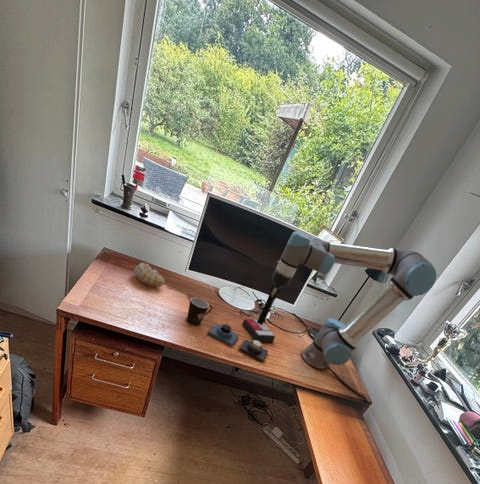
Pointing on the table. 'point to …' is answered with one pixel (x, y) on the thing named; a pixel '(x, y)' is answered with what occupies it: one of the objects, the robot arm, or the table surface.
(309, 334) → the table surface
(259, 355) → the black key block
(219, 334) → the blue key block
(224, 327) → the dark key
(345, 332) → the robot arm
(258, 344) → the cream key
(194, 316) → the coffee mug
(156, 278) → the nautilus
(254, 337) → the calculator
